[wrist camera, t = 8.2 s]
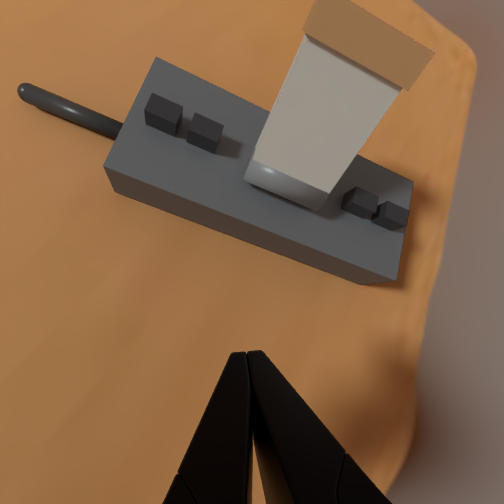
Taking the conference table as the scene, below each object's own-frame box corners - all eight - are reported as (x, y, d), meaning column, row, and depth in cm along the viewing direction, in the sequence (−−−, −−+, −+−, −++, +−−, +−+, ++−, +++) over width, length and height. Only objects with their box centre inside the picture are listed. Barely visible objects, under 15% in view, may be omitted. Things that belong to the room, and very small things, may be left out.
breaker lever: (317, 217, 18) (435, 52, 13) (237, 184, 17) (325, -15, 11) (315, 201, 20) (418, 46, 14) (241, 169, 19) (320, -14, 13)
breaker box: (360, 284, 24) (412, 279, 19) (-7, 145, 19) (-73, 85, 13) (378, 199, 26) (429, 173, 21) (50, 50, 21) (12, -34, 15)
